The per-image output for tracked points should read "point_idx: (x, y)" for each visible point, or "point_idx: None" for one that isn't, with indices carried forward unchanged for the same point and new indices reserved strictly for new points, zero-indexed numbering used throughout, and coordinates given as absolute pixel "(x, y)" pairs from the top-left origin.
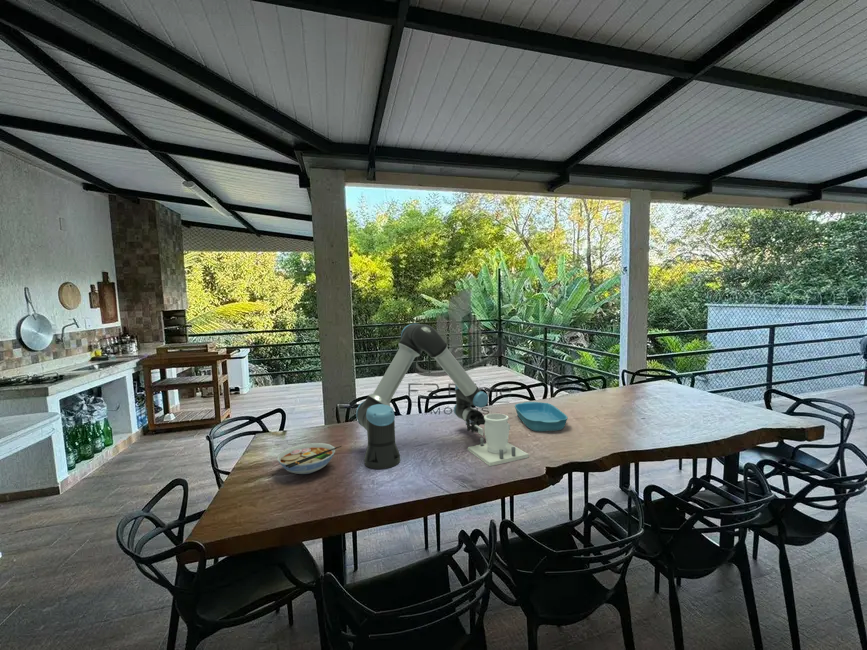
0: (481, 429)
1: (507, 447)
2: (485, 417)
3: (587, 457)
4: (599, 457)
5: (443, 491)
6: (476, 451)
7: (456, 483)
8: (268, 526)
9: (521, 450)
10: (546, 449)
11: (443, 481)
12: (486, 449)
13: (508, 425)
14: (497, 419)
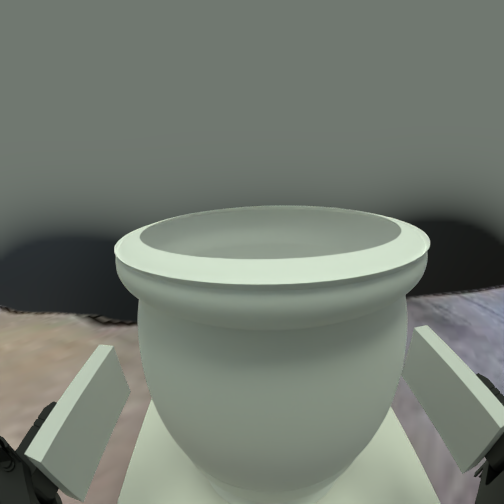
0: (429, 329)
1: (181, 470)
2: (406, 226)
3: (56, 322)
4: (46, 314)
5: (472, 298)
6: (410, 470)
7: (457, 314)
8: None
9: (151, 409)
10: (50, 392)
11: (486, 321)
12: (336, 492)
13: (115, 356)
14: (166, 360)
